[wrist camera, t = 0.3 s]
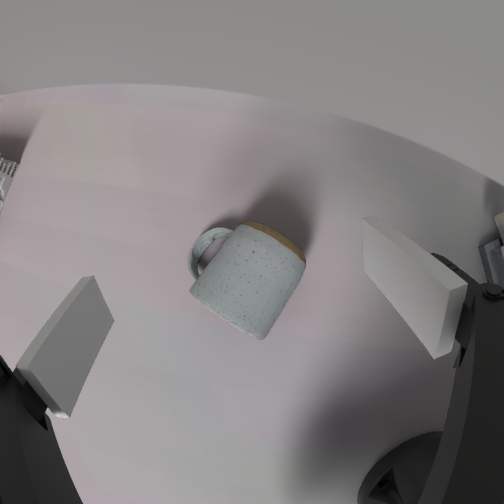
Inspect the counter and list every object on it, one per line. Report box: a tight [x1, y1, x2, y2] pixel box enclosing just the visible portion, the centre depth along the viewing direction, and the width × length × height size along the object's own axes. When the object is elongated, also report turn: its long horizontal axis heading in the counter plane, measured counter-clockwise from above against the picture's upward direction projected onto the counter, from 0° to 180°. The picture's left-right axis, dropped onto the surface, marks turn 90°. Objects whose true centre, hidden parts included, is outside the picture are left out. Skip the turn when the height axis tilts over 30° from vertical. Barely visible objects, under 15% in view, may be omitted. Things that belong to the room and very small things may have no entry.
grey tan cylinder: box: [188, 221, 306, 339], centre depth 26 cm, size 11×8×8 cm
